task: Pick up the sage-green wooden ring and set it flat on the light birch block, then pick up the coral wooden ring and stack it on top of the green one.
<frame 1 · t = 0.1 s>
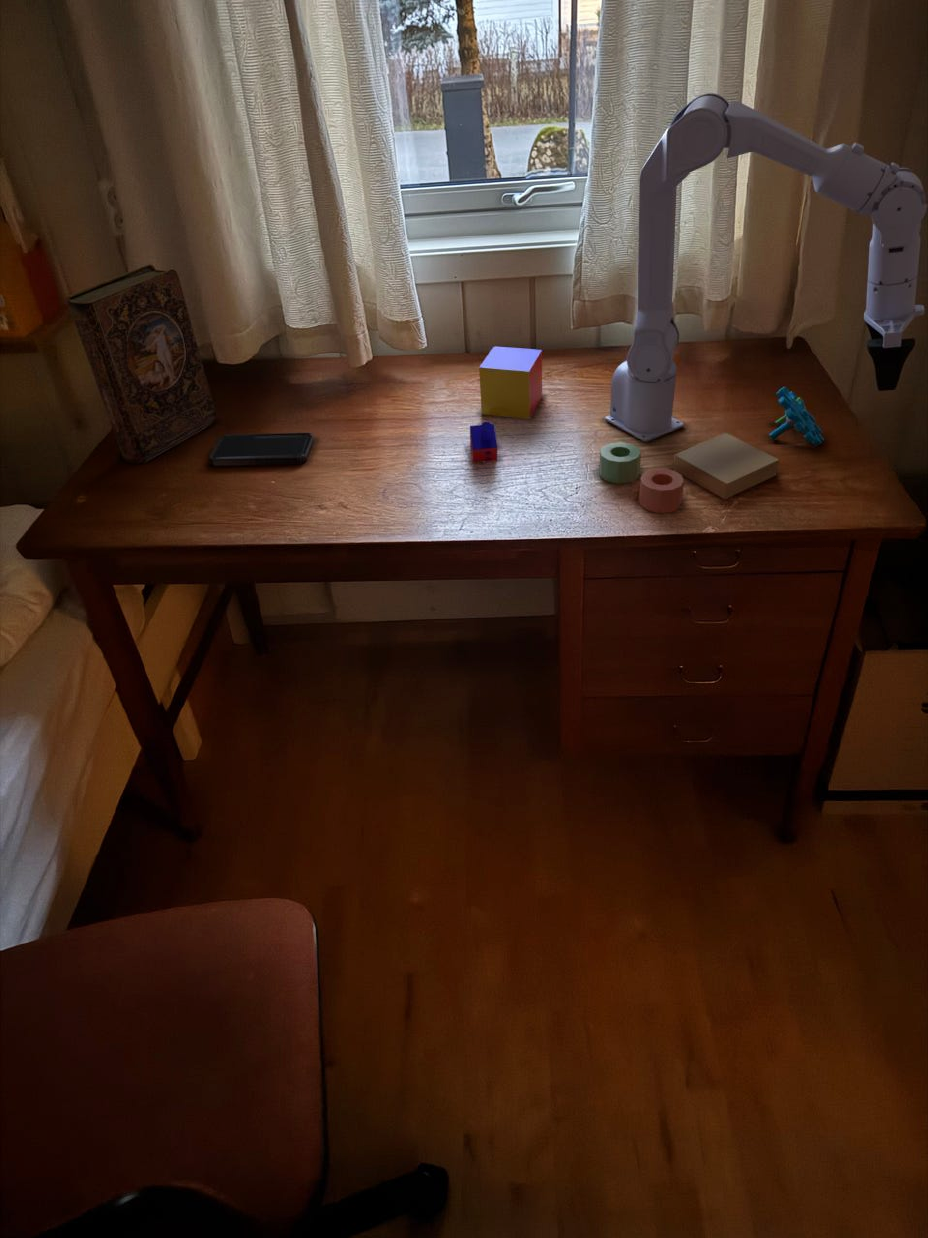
hand: (885, 376, 120), 11 cm above the table, tool pointing down, fingers open, 7 cm apart
birch block: (723, 472, 123), on the table
book: (169, 439, 142), on the table
phone: (263, 453, 136), on the table
coral ring: (660, 501, 119), on the table
green ring: (619, 473, 125), on the table
toy building block: (484, 458, 131), on the table
gear: (794, 439, 129), on the table
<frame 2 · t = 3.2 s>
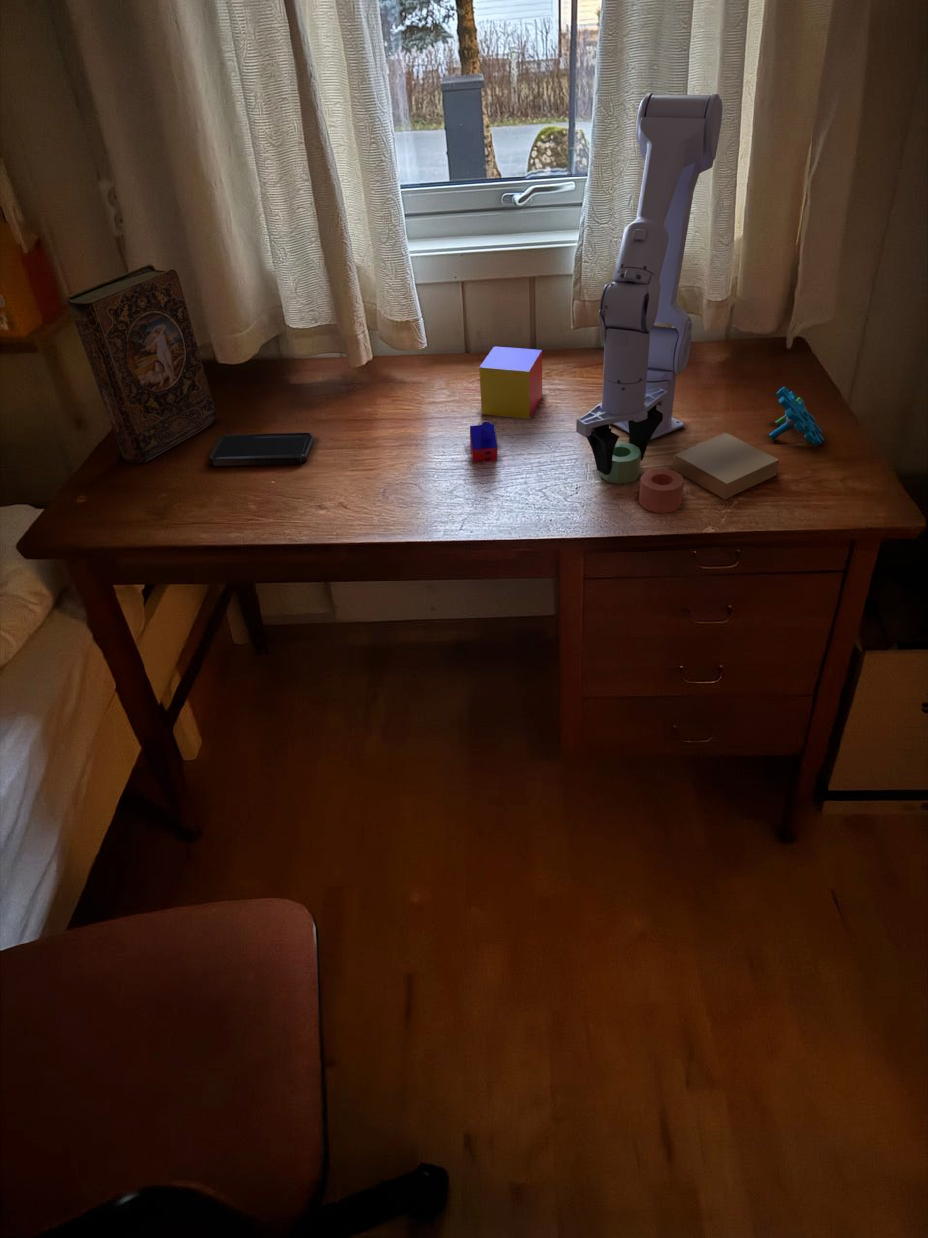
hand: (619, 464, 124), 1 cm above the table, tool pointing down, fingers closed on green ring, 5 cm apart
green ring: (619, 473, 125), on the table, touching gripper
everything else where it was.
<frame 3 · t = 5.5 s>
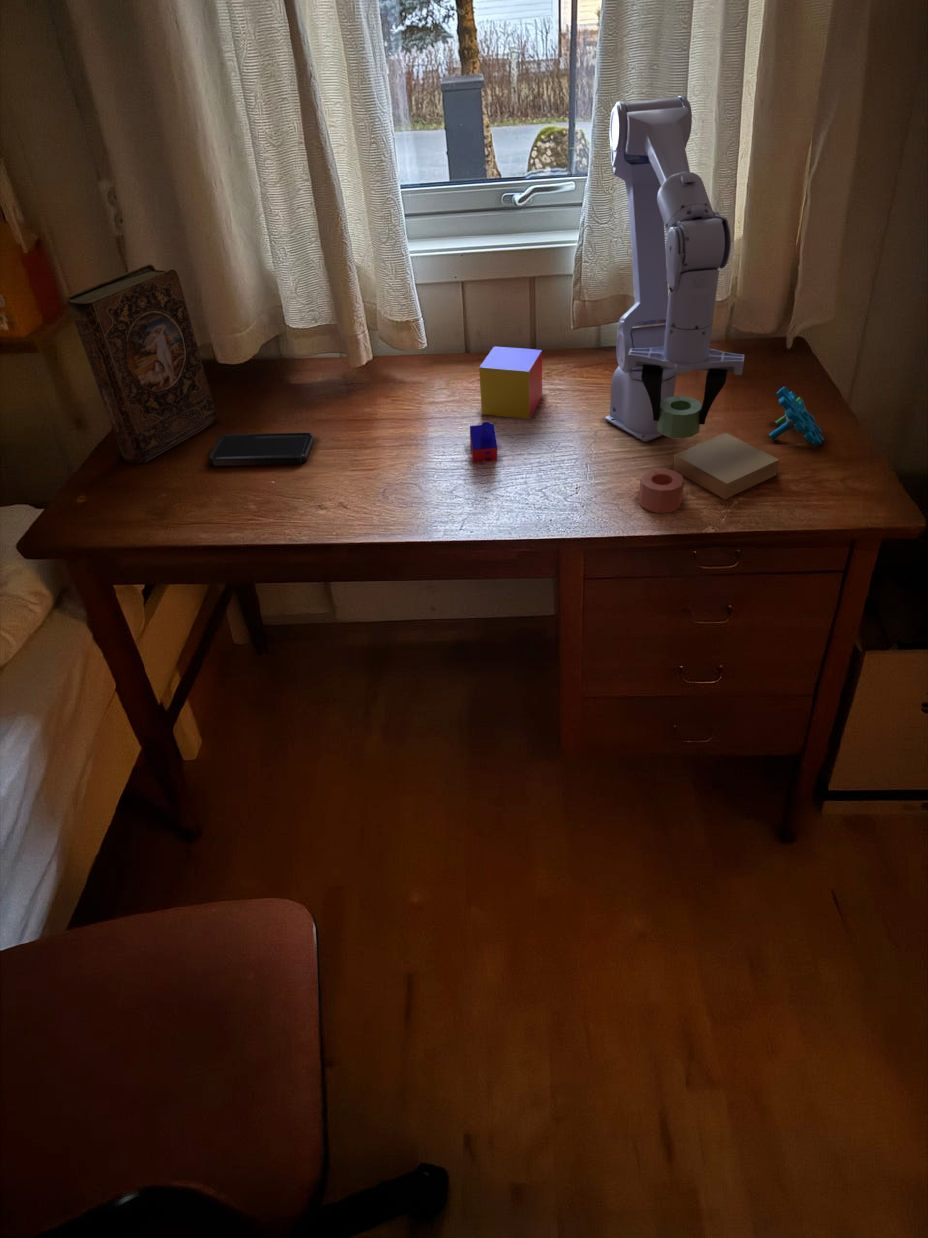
hand: (679, 419, 118), 8 cm above the table, tool pointing down, fingers closed on green ring, 5 cm apart
green ring: (678, 428, 119), point 7 cm above the table, touching gripper
everything else where it was.
when the fingers open (4 cm above the table, at t = 8.1 s): green ring stays where it is, resting on birch block.
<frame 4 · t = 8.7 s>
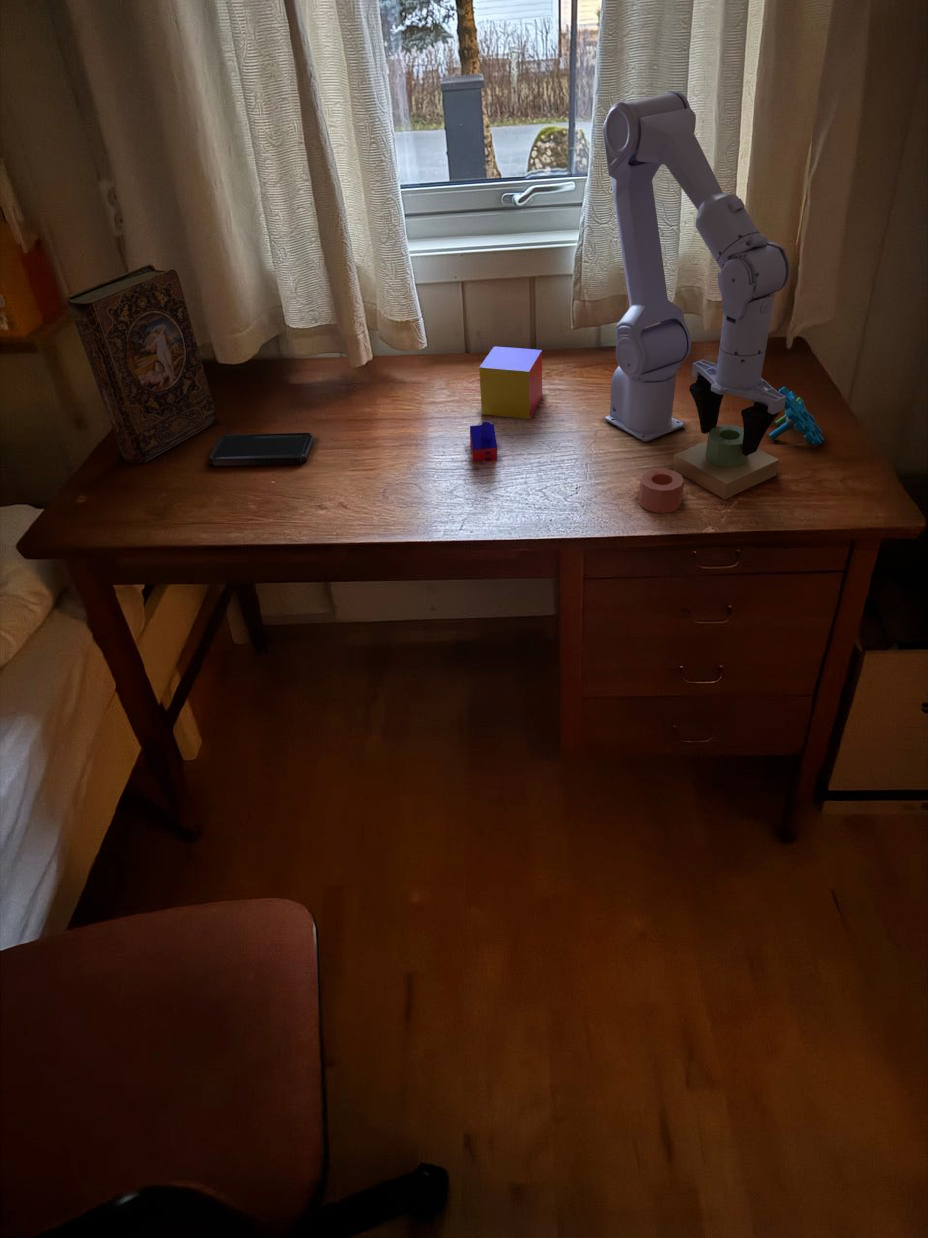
hand: (728, 441, 120), 5 cm above the table, tool pointing down, fingers open, 7 cm apart
green ring: (726, 457, 122), point 2 cm above the table, touching birch block
everything else where it was.
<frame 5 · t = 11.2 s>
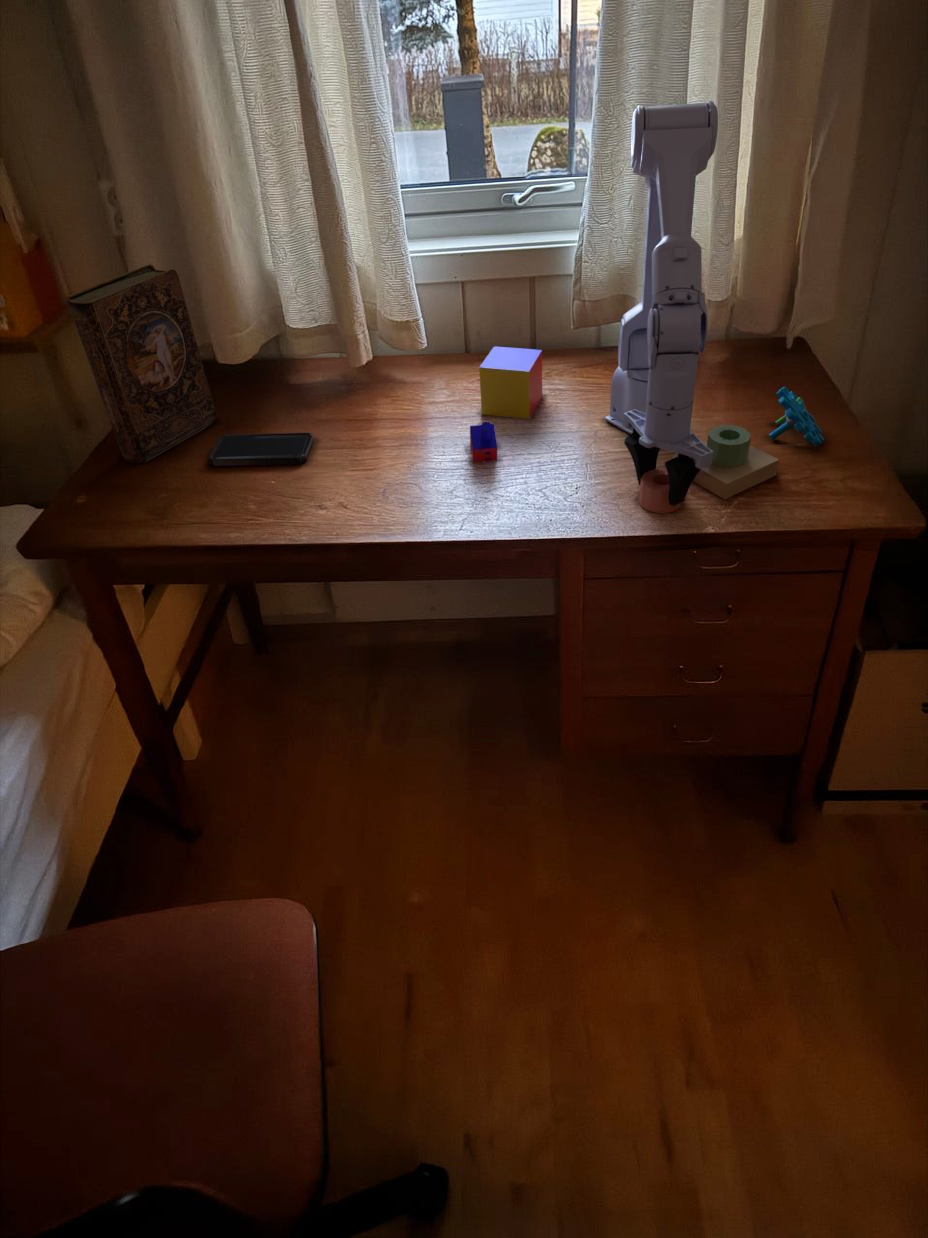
hand: (660, 492, 118), 1 cm above the table, tool pointing down, fingers closed on coral ring, 5 cm apart
coral ring: (660, 501, 119), on the table, touching gripper
everything else where it was.
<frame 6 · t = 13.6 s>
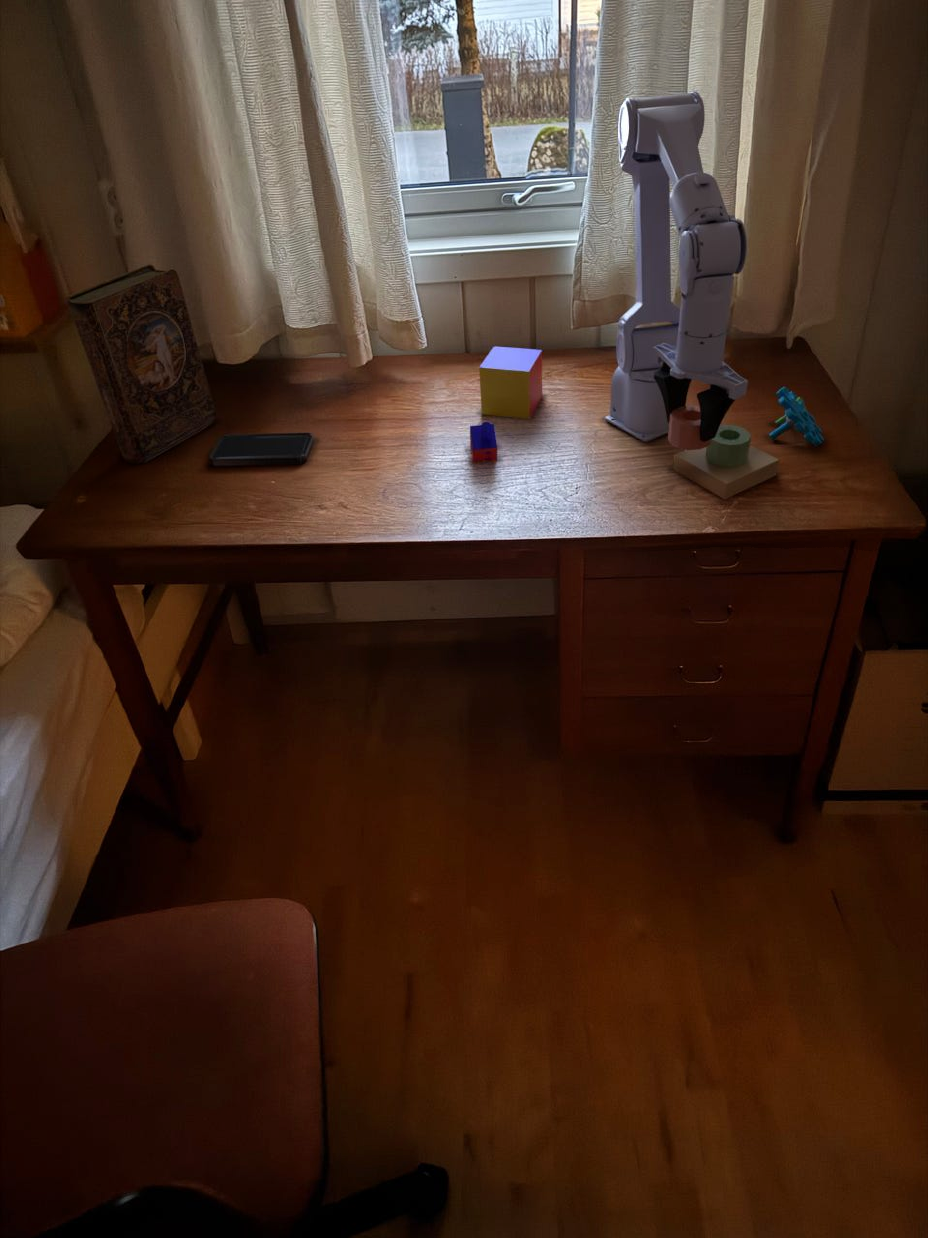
hand: (690, 429, 114), 9 cm above the table, tool pointing down, fingers closed on coral ring, 5 cm apart
coral ring: (689, 439, 115), point 8 cm above the table, touching gripper
everything else where it was.
when the fingers open (7 cm above the table, at t = 16.1 s): coral ring stays where it is, resting on green ring.
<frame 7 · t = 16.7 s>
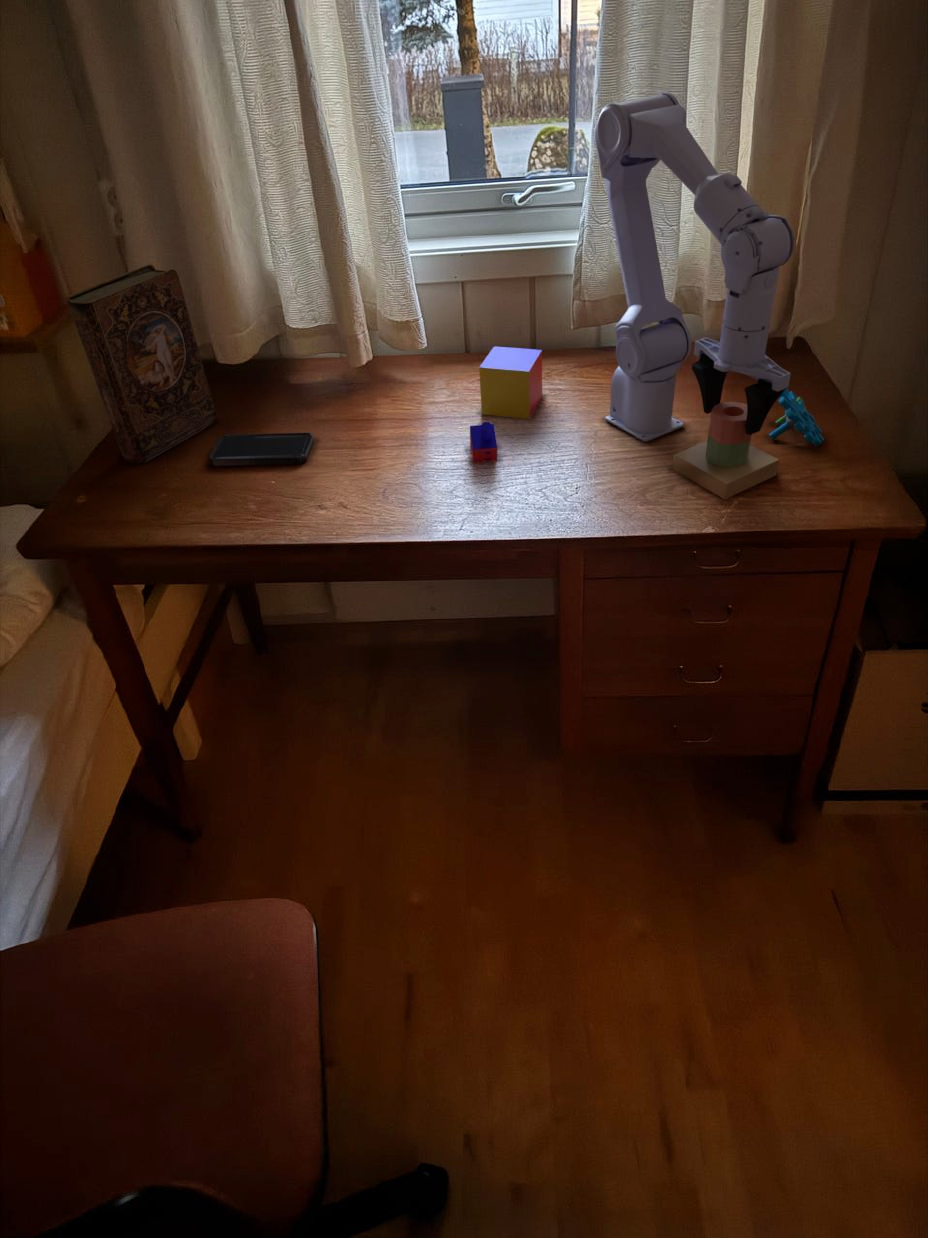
hand: (731, 421, 118), 8 cm above the table, tool pointing down, fingers open, 7 cm apart
coral ring: (729, 434, 119), point 6 cm above the table, touching green ring
green ring: (726, 457, 122), point 2 cm above the table, touching birch block, coral ring
everything else where it was.
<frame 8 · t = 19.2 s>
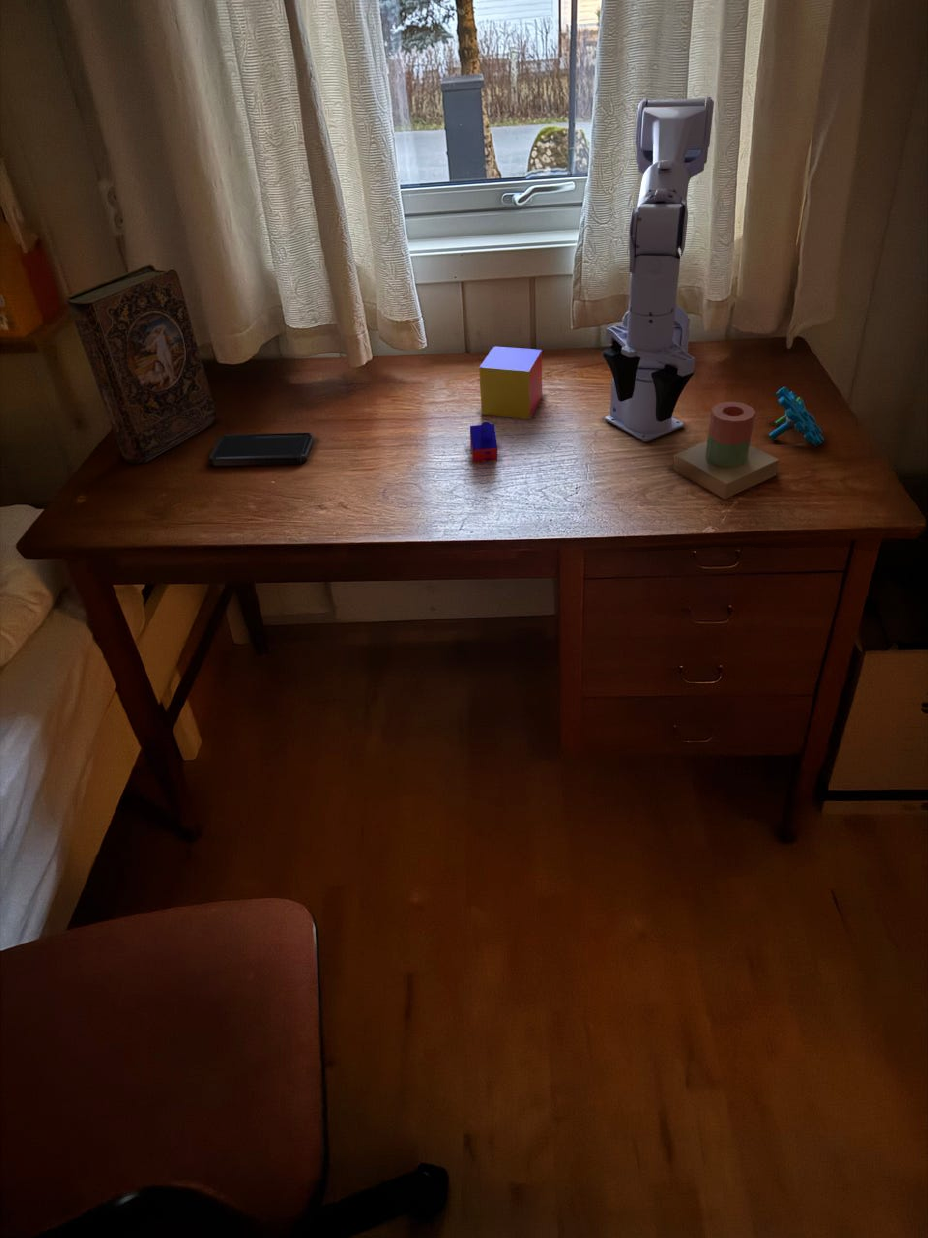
hand: (644, 408, 117), 10 cm above the table, tool pointing down, fingers open, 7 cm apart
nothing on the table moved.
at the end: green ring 0.1 cm off-centre on the birch block, point 2.5 cm above the birch block's base; coral ring 0.1 cm off-centre on the birch block, point 6.0 cm above the birch block's base; coral ring tilted 0° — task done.
